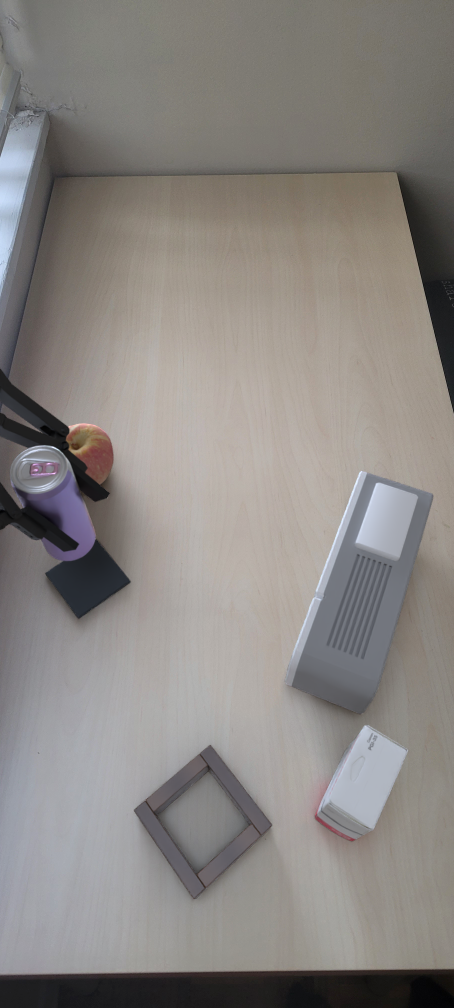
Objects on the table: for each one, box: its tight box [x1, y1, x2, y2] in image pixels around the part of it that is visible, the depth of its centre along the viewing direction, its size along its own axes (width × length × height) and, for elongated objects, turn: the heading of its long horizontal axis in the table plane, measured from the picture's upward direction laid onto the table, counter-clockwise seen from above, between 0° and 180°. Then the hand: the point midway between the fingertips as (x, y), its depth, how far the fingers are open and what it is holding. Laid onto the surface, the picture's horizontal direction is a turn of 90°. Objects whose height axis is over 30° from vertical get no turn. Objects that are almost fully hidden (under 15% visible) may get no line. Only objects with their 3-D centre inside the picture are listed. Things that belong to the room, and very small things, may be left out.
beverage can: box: [9, 445, 97, 562], centre depth 68 cm, size 6×6×15 cm
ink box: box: [314, 724, 409, 842], centre depth 65 cm, size 9×5×12 cm, turn 148°
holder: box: [133, 744, 273, 900], centre depth 67 cm, size 10×10×4 cm
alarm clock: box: [284, 470, 434, 715], centre depth 76 cm, size 27×9×12 cm, turn 157°
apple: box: [66, 423, 115, 485], centre depth 89 cm, size 9×9×8 cm
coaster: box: [44, 538, 131, 620], centre depth 83 cm, size 8×8×1 cm
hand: (86, 521), depth 68 cm, fingers closed on beverage can, 6 cm apart
